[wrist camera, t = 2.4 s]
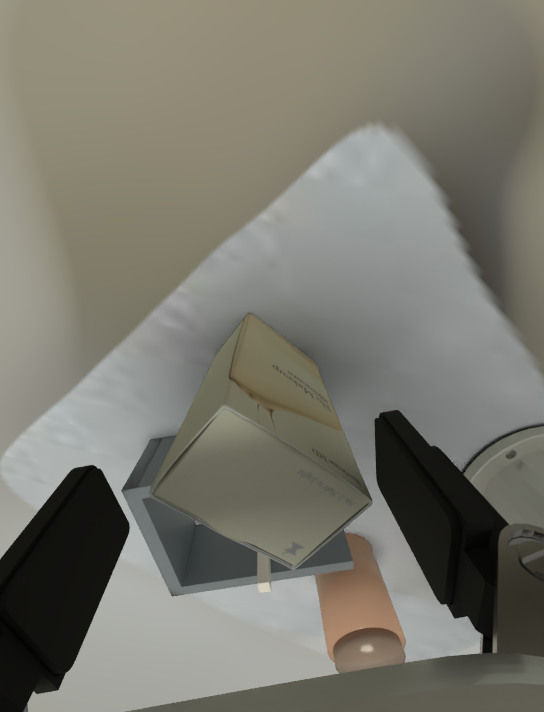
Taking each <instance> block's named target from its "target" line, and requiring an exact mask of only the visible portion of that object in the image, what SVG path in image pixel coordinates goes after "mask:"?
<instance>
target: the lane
mask: <svg viewBox="0 0 544 712" xmlns="http://www.w3.org/2000/svg"><path fill="white" fill-rule="evenodd" d="M175 438H176V436H171V437H165V438H159V439H153V440H150V442H149V443H148V445H147V447H146V449H145V450H144V452H143V454H142V456H141V457H140V459H139V461H138V463H137V464H136V466H135V468H134V470H133V471H132V473H131V475H130V477H129V478H128V480H127V482H126V484H125V485H124V487H123V489H122V490H121V491H122V493H123V495H124V497H125V499H126V501H127V503H128V506H129V508H130V510H131V512H132V514H133V516H134V518H135V520H136V522H137V524H138V526H139V529H140V531H141V533H142V535H143V537H144V539H145V541H146V543H147V545H148V547H149V549H150V552H151V554H152V556H153V558H154V560H155V562H156V564H157V566H158V568H159V570H160V572H161V575H162V577H163V579H164V581H165V583H166V585H167V587H168V589H169V591H170V593H171V595H172V596H177V595H184V594H191V593H197V592H204V591H211V590H217V589H224V588H230V587H237V586H244V585H250V584H257V551H254V550H252V549H251V548H248V547H246V546H244V545H243V544H240V543H238V542H236V541H233V540H231V539H229V538H227V537H225V536H223V535H221V534H219V533H217V532H215V531H214V530H212V529H210V528H209V527H207V526H205V525H198V526H196V525H195V522H194V520H193V519H191V518H189V517H188V516H186V515H184V514H182V513H180V512H178V511H176V510H174V509H172V508H170V507H169V506H167V505H165V504H163V503H161V502H158V501H156V500H154V499H153V498H151V496H150V494H149V491H150V489H151V486H152V484H153V482H154V480H155V478H156V476H157V474H158V472H159V470H160V468H161V466H162V464H163V462H164V460H165V458H166V456H167V454H168V452H169V450H170V448H171V446H172V444H173V442H174V440H175ZM270 566H271V581H277V580H283V579H290V578H297V577H303V576H310V575H316V574H323V573H330V572H336V571H343V570H350V569H354V565H353V559H352V556H351V552H350V549H349V545H348V542H347V539H346V535H345V532H344V529H343V530H342V531H341V532H339V533H338V534H337V535H336V536H335V537H333V538H332V539H331V540H330V541H329V542H327V543H326V544H325V545H324V546H323V547H321V548H320V549H319V550H318V551H317V552H315V553H314V554H313V555H312V556H311V557H309V558H308V559H307V560H306V561H304V562H303V563H302V564H301V565H300V566H299V567H297V568H296V569H295V570H292V569H290V568H288V567H286V566H285V565H283V564H281V563H279V562H277V561H274V560H273V559H271V558H270Z"/></svg>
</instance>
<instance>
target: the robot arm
mask: <svg viewBox="0 0 544 712" xmlns="http://www.w3.org/2000/svg"><path fill="white" fill-rule="evenodd" d="M375 448H376V477H377V483H378V486H379V489H380V491H381V493H382V495H383V496H384V498H385V500H386V502H387V504H388V506H389V508H390V510H391V512H392V514H393V516H394V518H395V519H396V521H397V523H398V525H399V527H400V529H401V531H402V533H403V535H404V537H405V539H406V541H407V543H408V544H409V546H410V548H411V550H412V552H413V554H414V556H415V558H416V560H417V562H418V564H419V566H420V567H421V569H422V571H423V573H424V575H425V577H426V579H427V581H428V583H429V585H430V587H431V589H432V590H433V592H434V594H435V596H436V598H437V600H438V601H439V602H440V603H441V604H447V606H448V607H449V609H450V611H451V613H452V615H453V617H454V619H455V618H460V617H466V616H468V617H469V619H470V621H471V622H472V624H473V626H474V628H475V629H476V630H477V631H478V632H480V633H481V642H480V654H470V655H459V656H447V657H440V658H434V659H427V660H420V661H414V662H407V663H400V664H394V665H387V666H380V667H374V668H368V669H363V670H357V671H351V672H345V673H340V674H334V675H329V676H322V677H317V678H311V679H305V680H299V681H294V682H288V683H282V684H277V685H271V686H265V687H259V688H255V689H249V690H243V691H237V692H232V693H226V694H221V695H215V696H209V697H205V698H198V699H193V700H187V701H182V702H176V703H171V704H165V705H160V706H155V707H149V708H143V709H138V710H132V711H127V712H544V426H542V427H536V428H530V429H527V430H524V431H520V432H517V433H514V434H512V435H510V436H508V437H506V438H503V439H501V440H500V441H498V442H497V443H495V444H493V445H492V446H490V447H489V448H487V449H486V450H485V451H484V452H483V453H481V454H480V455H479V456H478V457H477V458H476V459H475V460H474V461H473V462H472V463H471V464H470V466H469V467H468V468H467V470H466V471H465V473H464V474H462V472H461V471H460V470H459V469H458V468H457V467H456V466H455V465H454V464H453V463H452V462H451V460H450V459H449V458H448V457H447V456H446V455H445V454H444V453H443V452H442V451H441V450H440V449H439V448H438V447H436V446H430V445H429V444H428V443H427V442H426V441H425V439H424V438H423V437H422V436H421V435H420V434H419V433H418V431H417V430H416V429H415V428H414V427H413V426H412V425H411V424H410V422H409V421H408V420H407V419H406V418H405V417H404V416H403V414H402V413H401V412H400V411H399V410H394V411H388V412H383V413H380V415H379V418H376V419H375ZM129 528H130V527H129V522H128V520H127V518H126V516H125V514H124V512H123V511H122V509H121V507H120V505H119V503H118V501H117V499H116V497H115V495H114V493H113V491H112V489H111V487H110V485H109V484H108V482H107V480H106V478H105V476H104V474H103V472H102V470H101V469H97V467H96V466H94V465H89V466H84V467H78V468H74V469H72V470H71V471H70V472H69V474H68V475H67V476H66V477H65V479H64V480H63V481H62V482H61V484H60V485H59V486H58V487H57V489H56V490H55V491H54V492H53V494H52V495H51V496H50V497H49V499H48V500H47V501H46V503H45V504H44V505H43V506H42V508H41V509H40V510H39V511H38V513H37V514H36V515H35V516H34V518H33V519H32V520H31V521H30V523H29V524H28V525H27V526H26V528H25V529H24V530H23V531H22V533H21V534H20V535H19V537H18V538H17V539H16V540H15V541H14V543H13V544H12V545H11V546H10V548H9V549H8V550H7V551H6V553H5V554H4V555H3V557H2V558H1V559H0V712H28V708H27V703H28V701H29V698H30V696H31V694H32V692H33V691H34V692H35V693H37V694H39V693H45V692H51V691H56V690H59V687H60V685H61V683H62V680H63V678H64V676H65V673H66V672H68V671H69V670H70V669H71V667H72V666H73V664H74V662H75V660H76V657H77V655H78V653H79V650H80V648H81V645H82V643H83V641H84V639H85V636H86V634H87V631H88V629H89V627H90V624H91V622H92V619H93V617H94V615H95V613H96V610H97V608H98V605H99V603H100V601H101V598H102V596H103V594H104V591H105V589H106V586H107V584H108V582H109V579H110V577H111V575H112V572H113V570H114V568H115V565H116V563H117V561H118V558H119V556H120V553H121V551H122V549H123V546H124V544H125V542H126V539H127V537H128V534H129Z"/></svg>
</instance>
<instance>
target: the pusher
mask: <svg viewBox="0 0 544 712" xmlns="http://www.w3.org/2000/svg"><path fill="white" fill-rule="evenodd" d="M257 585H258V588H259V592H260V593H263V592H269V591H271V566H270V558H268V557H267V556H264V555H262V554H260V553H259V552H257Z"/></svg>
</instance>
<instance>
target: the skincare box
mask: <svg viewBox="0 0 544 712" xmlns="http://www.w3.org/2000/svg"><path fill="white" fill-rule="evenodd" d="M149 494H150V496H151V498H153V499H154V500H156V501H158V502H161V503H163V504H165V505H167V506H169V507H170V508H172V509H174V510H176V511H178V512H180V513H182V514H184V515H186V516H188V517H189V518H191V519H193V520H196V521H197V522H199V523H201V524H203V525H205V526H207V527H209V528H210V529H212V530H214V531H215V532H217V533H219V534H221V535H223V536H225V537H227V538H229V539H231V540H233V541H236V542H238V543H240V544H243V545H244V546H246V547H248V548H251V549H252V550H254V551H257V552H259V553H260V554H262V555H264V556H267V557H268V558H271V559H273V560H274V561H277V562H279V563H281V564H283V565H285V566H286V567H288V568H290V569H292V570H295V569H296V568H297V567H299V566H300V565H301V564H302V563H303V562H304V561H306V560H307V559H308V558H309V557H311V556H312V555H313V554H314V553H315V552H317V551H318V550H319V549H320V548H321V547H323V546H324V545H325V544H326V543H327V542H329V541H330V540H331V539H332V538H333V537H335V536H336V535H337V534H338V533H339V532H341V531H342V530H343V529H344V528H346V527H347V526H348V525H349V524H350V523H351V522H352V521H353V520H354V519H356V518H357V517H358V516H359V515H360V514H362V513H363V512H364V511H365V510H366V509H367V508H369V507H370V506H371V505H372V498H371V496H370V494H369V492H368V489H367V487H366V485H365V482H364V480H363V478H362V475H361V473H360V471H359V468H358V466H357V463H356V461H355V459H354V456H353V454H352V451H351V449H350V446H349V444H348V441H347V439H346V437H345V434H344V432H343V430H342V427H341V425H340V422H339V420H338V417H337V415H336V412H335V410H334V408H333V405H332V403H331V400H330V398H329V395H328V393H327V391H326V388H325V386H324V383H323V381H322V378H321V376H320V373H319V371H318V368H317V366H316V363H315V362H314V361H313V360H311V359H310V358H309V357H308V356H306V355H305V354H304V353H303V352H301V351H300V350H299V349H298V348H296V347H295V346H294V345H292V344H291V343H290V342H289V341H287V340H286V339H285V338H283V337H282V336H281V335H279V334H278V333H277V332H275V331H274V330H273V329H272V328H270V327H269V326H268V325H266V324H265V323H264V322H262V321H261V320H260V319H258V318H257V317H256V316H254V315H253V314H251V313H248V315H247V316H246V317H245V318H244V320H243V321H242V322H241V323H240V325H239V326H238V327H237V328H236V329H235V331H234V332H233V333H232V335H231V336H230V337H229V338H228V340H227V341H226V342H225V344H224V345H223V346H222V348H221V349H220V350H219V352H218V353H217V354H216V356H215V358H214V360H213V362H212V364H211V366H210V368H209V370H208V372H207V374H206V376H205V379H204V381H203V383H202V385H201V387H200V389H199V391H198V393H197V395H196V397H195V399H194V401H193V403H192V405H191V407H190V409H189V411H188V413H187V415H186V417H185V419H184V422H183V424H182V426H181V428H180V430H179V432H178V434H177V436H176V438H175V440H174V442H173V444H172V446H171V448H170V450H169V452H168V454H167V456H166V458H165V460H164V462H163V464H162V466H161V468H160V470H159V472H158V474H157V476H156V478H155V480H154V482H153V484H152V486H151V489H150V491H149Z"/></svg>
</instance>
